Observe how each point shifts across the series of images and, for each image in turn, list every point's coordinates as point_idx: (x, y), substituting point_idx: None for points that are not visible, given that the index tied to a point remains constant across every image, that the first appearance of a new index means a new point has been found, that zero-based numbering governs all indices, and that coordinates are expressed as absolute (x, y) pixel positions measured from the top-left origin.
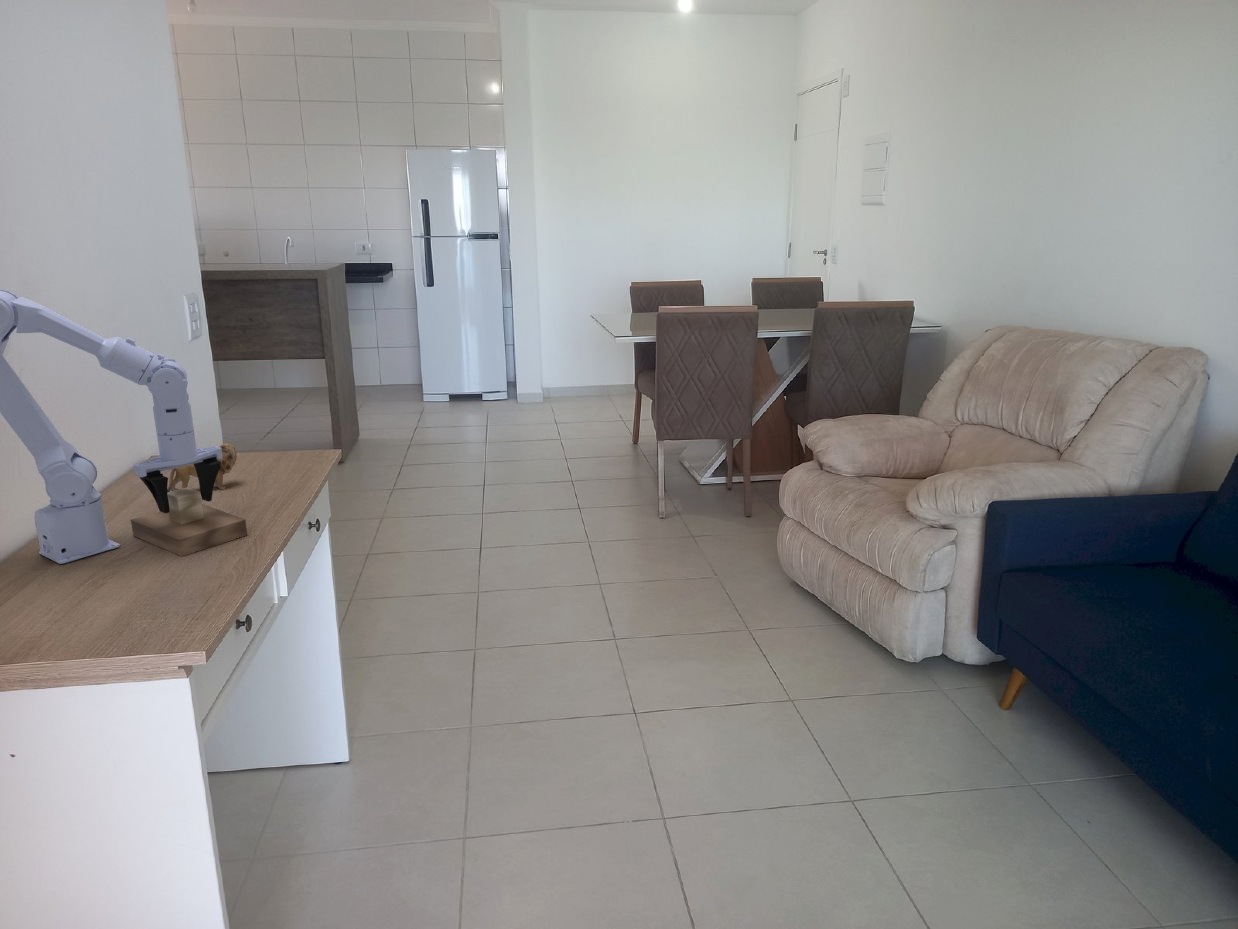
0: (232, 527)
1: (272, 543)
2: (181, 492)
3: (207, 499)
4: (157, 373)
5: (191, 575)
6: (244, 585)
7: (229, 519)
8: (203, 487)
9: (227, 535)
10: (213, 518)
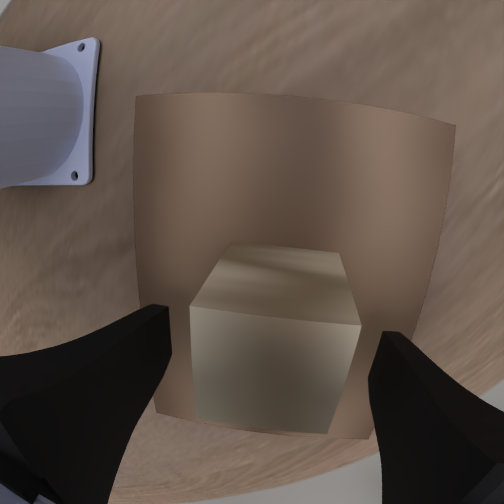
0: None
1: (341, 461)
2: (262, 376)
3: (370, 380)
4: None
5: (147, 443)
6: (189, 499)
7: (351, 412)
8: (395, 398)
9: None
10: None
